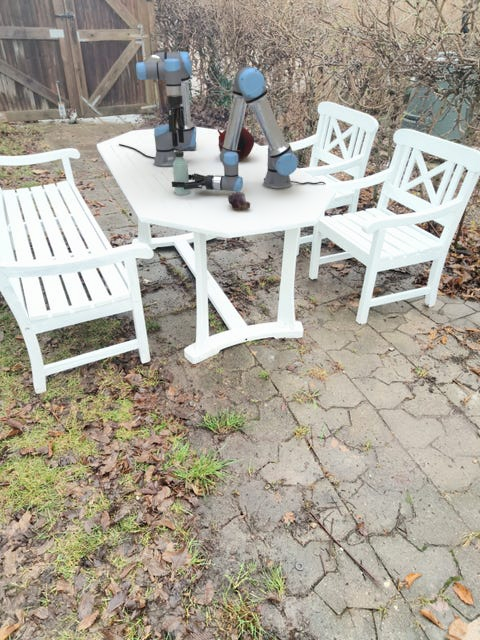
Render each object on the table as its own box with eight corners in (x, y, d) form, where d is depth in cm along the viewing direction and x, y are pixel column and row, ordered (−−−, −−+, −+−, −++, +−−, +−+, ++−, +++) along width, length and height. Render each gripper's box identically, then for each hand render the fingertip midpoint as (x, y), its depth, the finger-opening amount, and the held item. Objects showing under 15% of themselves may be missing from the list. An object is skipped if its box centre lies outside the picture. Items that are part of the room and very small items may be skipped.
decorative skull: (215, 132, 306) (215, 129, 282) (249, 124, 305) (251, 121, 281) (222, 164, 313) (222, 164, 289) (255, 157, 312) (258, 156, 288)
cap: (174, 157, 235) (174, 153, 233) (175, 155, 238) (175, 151, 237) (183, 157, 234) (182, 153, 233) (184, 155, 238) (183, 151, 237)
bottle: (174, 194, 244) (170, 154, 232) (176, 190, 251) (172, 151, 239) (188, 194, 244) (185, 154, 232) (190, 190, 251) (187, 150, 239)
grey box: (196, 150, 320) (194, 121, 309) (171, 151, 319) (168, 122, 308) (196, 145, 335) (194, 116, 324) (172, 145, 334) (169, 117, 322)
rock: (241, 205, 233) (224, 208, 228) (240, 189, 229) (223, 191, 225) (252, 209, 223) (235, 212, 219) (252, 191, 219) (234, 194, 215)
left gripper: (176, 92, 229) (179, 139, 242) (158, 98, 213) (163, 148, 226) (189, 92, 227) (192, 140, 240) (172, 98, 211) (177, 149, 224)
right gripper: (208, 197, 232) (169, 194, 236) (219, 182, 252) (183, 180, 256) (207, 182, 228) (167, 180, 232) (219, 168, 248) (182, 166, 252)
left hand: (178, 144), depth 233 cm, fingers open, 7 cm apart
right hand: (176, 180), depth 244 cm, fingers open, 13 cm apart
